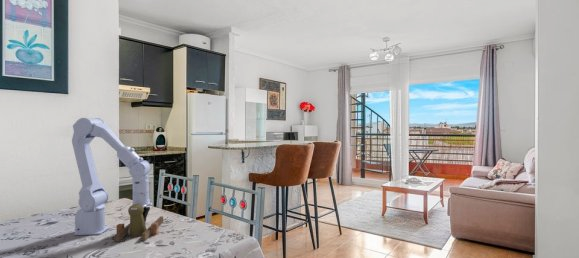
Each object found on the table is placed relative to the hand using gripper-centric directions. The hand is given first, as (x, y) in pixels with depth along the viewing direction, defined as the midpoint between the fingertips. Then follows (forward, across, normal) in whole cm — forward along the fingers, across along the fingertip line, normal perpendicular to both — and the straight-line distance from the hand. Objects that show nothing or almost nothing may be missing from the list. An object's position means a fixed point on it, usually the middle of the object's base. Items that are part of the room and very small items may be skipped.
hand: (141, 227), depth 122 cm
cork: (+1, -3, 0) cm, 3 cm away
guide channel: (+2, 0, 0) cm, 2 cm away
